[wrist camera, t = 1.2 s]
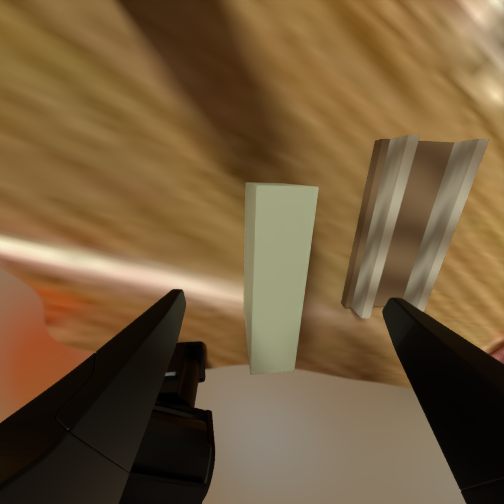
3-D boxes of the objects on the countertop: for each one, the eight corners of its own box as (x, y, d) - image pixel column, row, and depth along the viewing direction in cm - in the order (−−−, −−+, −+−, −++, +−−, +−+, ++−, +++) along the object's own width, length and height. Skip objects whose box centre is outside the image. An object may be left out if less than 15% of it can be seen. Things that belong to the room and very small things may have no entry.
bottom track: (406, 300, 26) (427, 315, 23) (341, 302, 25) (354, 318, 22) (459, 145, 20) (497, 139, 17) (375, 140, 19) (400, 134, 16)
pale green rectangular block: (272, 304, 24) (294, 371, 16) (243, 305, 24) (250, 374, 16) (280, 183, 20) (318, 186, 11) (245, 182, 19) (256, 185, 11)
